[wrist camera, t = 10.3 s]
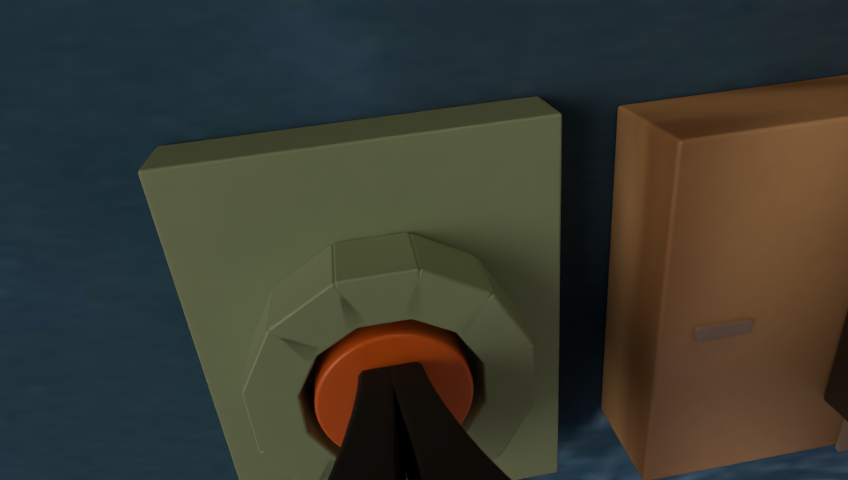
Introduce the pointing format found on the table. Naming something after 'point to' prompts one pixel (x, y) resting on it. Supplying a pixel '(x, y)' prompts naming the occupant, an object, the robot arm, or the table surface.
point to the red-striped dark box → (839, 376)
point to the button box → (370, 267)
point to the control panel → (727, 275)
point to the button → (387, 349)
